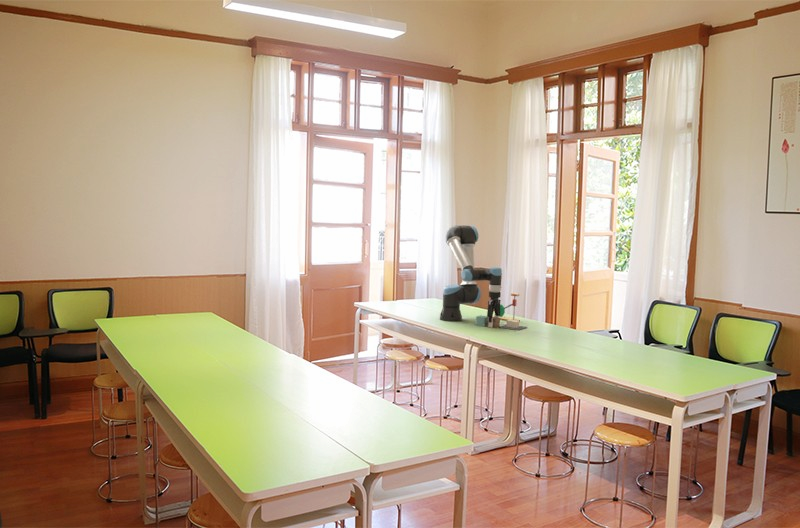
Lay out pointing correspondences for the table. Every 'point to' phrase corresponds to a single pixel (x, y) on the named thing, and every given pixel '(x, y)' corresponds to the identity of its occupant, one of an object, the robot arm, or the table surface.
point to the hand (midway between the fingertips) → (493, 326)
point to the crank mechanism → (502, 309)
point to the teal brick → (481, 320)
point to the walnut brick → (494, 322)
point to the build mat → (513, 325)
